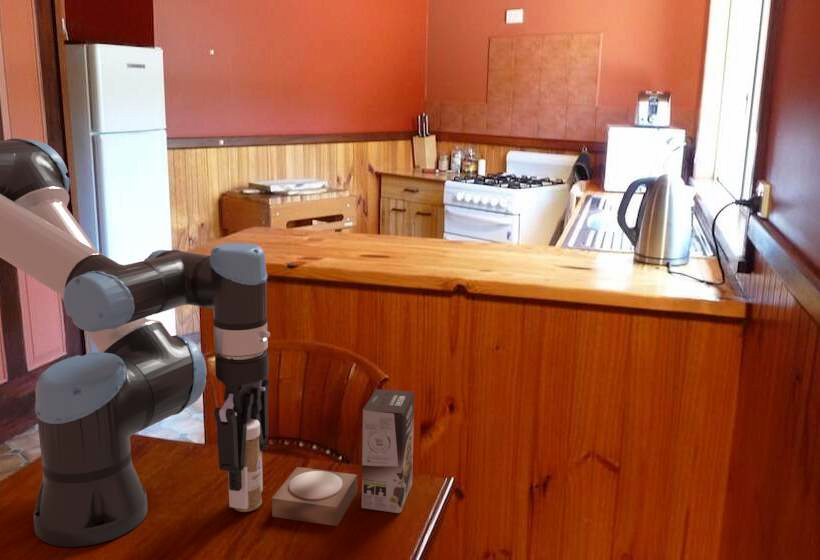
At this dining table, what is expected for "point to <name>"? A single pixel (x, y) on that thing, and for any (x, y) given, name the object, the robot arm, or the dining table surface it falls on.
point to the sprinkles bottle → (253, 465)
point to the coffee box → (387, 450)
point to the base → (315, 496)
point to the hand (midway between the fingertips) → (246, 497)
